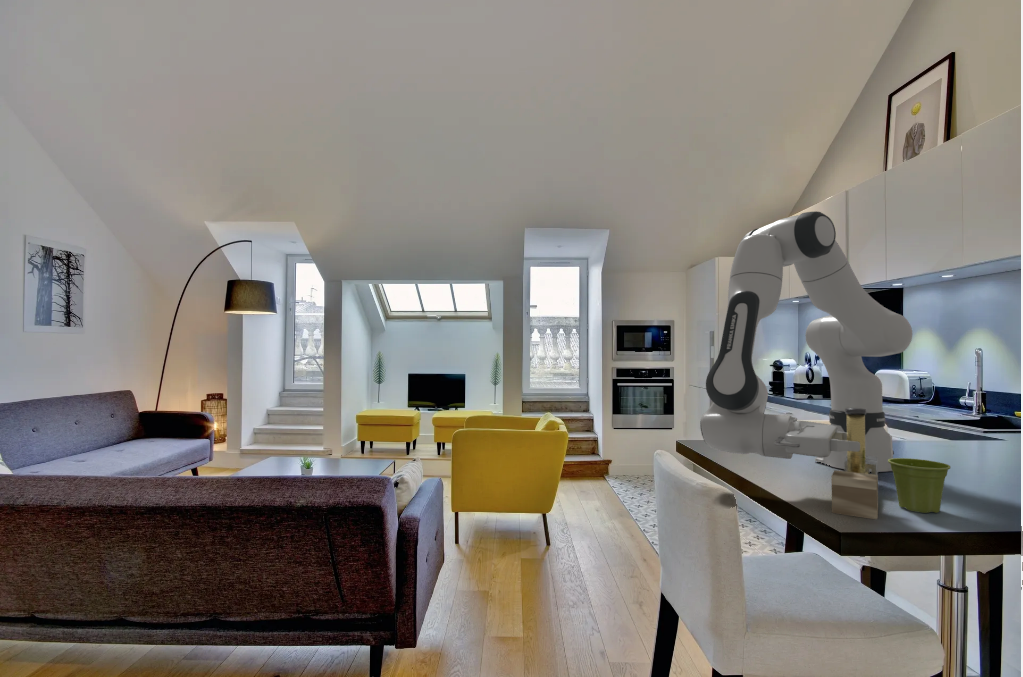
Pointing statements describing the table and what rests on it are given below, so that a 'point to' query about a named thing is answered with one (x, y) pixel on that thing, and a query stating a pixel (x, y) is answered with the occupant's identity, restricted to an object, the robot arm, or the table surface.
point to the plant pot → (919, 483)
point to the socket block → (855, 494)
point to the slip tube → (856, 439)
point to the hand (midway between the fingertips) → (861, 443)
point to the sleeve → (868, 464)
